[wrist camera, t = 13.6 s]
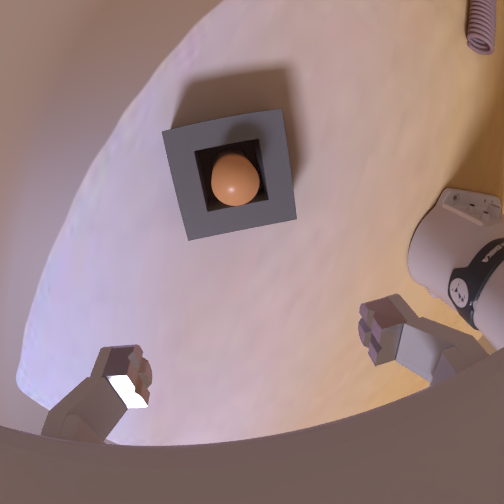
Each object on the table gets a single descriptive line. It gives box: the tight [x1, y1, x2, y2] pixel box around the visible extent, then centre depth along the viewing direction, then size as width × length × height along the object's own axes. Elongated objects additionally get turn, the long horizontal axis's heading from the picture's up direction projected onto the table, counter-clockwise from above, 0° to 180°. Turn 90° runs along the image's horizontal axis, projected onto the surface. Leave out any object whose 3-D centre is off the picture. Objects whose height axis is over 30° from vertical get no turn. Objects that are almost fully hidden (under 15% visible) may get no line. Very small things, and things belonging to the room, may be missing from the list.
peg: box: [211, 149, 259, 206], centre depth 28 cm, size 4×4×8 cm
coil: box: [467, 0, 496, 55], centre depth 20 cm, size 5×5×18 cm
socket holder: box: [162, 109, 297, 241], centre depth 29 cm, size 11×11×5 cm
